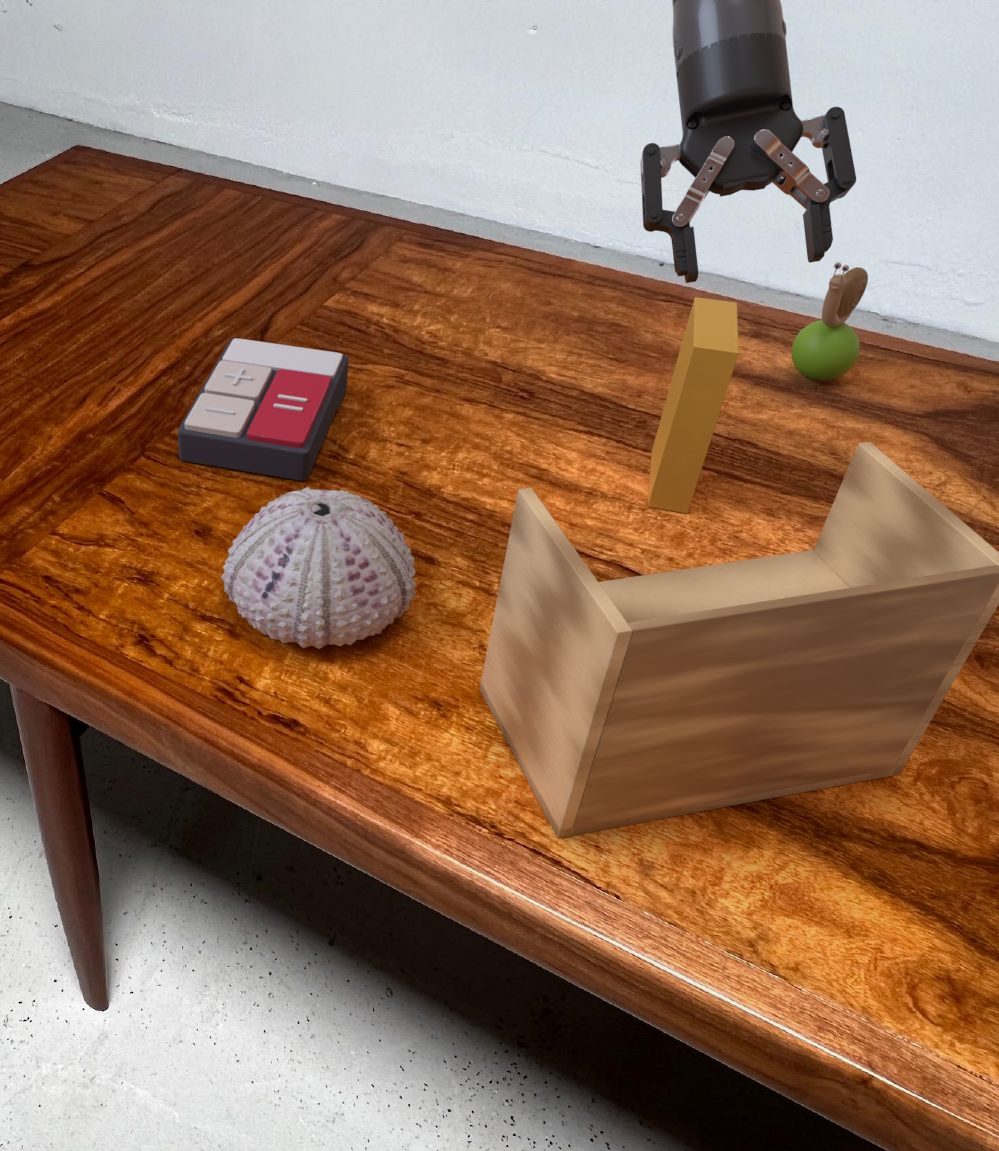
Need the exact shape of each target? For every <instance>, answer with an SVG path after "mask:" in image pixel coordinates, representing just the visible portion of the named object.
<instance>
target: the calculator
mask: <svg viewBox="0 0 999 1151" xmlns="http://www.w3.org/2000/svg"><path fill="white" fill-rule="evenodd" d="M348 374H349V356H348V355H347V354H343V353H341V352H336V351H330V350H329V351H328V350H323V349H322V350H321V349H314V348H308V347H300V346H294V345H288V344H281V343H274V342H265V341H259V340H251V339H244V338H239V337H238V338H231V339H230V340H229V341H227V344H226V346H225V348H224V349H223V351H222V352H221V354H220V356H219V358H218V360H217V361H216V363H215V365H214V367H213V368H212V370H211V371H210V373H209V375H208V377H207V378H206V380H205V382H204V384H203V386H202V387H201V389H200V390H199V392H198V394H197V395H196V398H195V399H194V401H193V403H192V404H191V406H190V408H189V409H188V411H187V413H186V415H185V417H184V418H183V420H182V422H181V424H179V427H178V429H177V441H178V442H177V444H178V457H179V459H180V460H181V461H183V462H187V463H193V464H199V465H206V466H211V467H217V468H222V469H228V470H234V471H240V472H246V473H251V474H258V475H262V476H263V475H264V476H270V477H275V478H281V479H288V480H293V481H298V482H305V481H307V480H308V479H309V478H310V477H309V476H310V474H311V472H312V470H313V467H314V465H315V462H316V460H317V459H318V455H319V452H320V450H321V448H322V446H323V443H324V441H325V438H326V436H327V434H328V431H329V429H330V426H331V424H332V421H333V419H334V417H335V414H336V412H338V411H339V409H340V407H341V405H342V402H343V400H344V398H345V395H346V393H347V390H348V389H347V388H348Z"/></svg>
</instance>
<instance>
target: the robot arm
mask: <svg viewBox="0 0 999 1151" xmlns="http://www.w3.org/2000/svg"><path fill="white" fill-rule="evenodd" d="M671 5H672V46H673V56H674V57H673V58H674V66H675V74H676V75H675V76H676V83H677V93H678V102H679V112H680V113H679V114H680V120H681V122H680V123H681V131H682V137H681V141H680V143H677V144H671V145H664V146H659V144H657V143H654V142H650V143H647V144H646V145H645V146H644V147H643V150H642V153H641V157H640V182H641V183H640V184H641V205H642V208H641V210H642V227H643V230H644V231H646V232H649V233H653V232H655V231H656V232H662V233H665V234H667V235H668V236H669V237H670V239H671V249H672V257H673V267H674V271H675V273H676V276H677V277H684V281H685V284H689V283H695V282H697V281H698V278H699V265H698V256H697V247H696V237H695V228H694V227H695V226H691V221H692V219H693V218H694V216H695V215H696V213H697V212H698V210H699V209H700V207H701V205H702V204H703V202H704V201H705V199H706V197H707V196H708V195H709V193H712V194H716V195H719V197H720V198H721V197H725V196H730V195H734V194H736V193H738V192H740V191H751V192H752V191H754V192H755V191H759V190H765V189H766V188H767V186H769V185H771V184H773V185H774V186H776V188H778V189H779V190H780V191H781V192H782V193H783V194H785V195H788V196H790V197H791V198H793V199H794V200H795V202H797V203H798V204H799V205H800V206H801V207H803V208H804V209H805V211H804V212H803V214H802V219H803V220H802V221H803V228H804V229H803V231H804V238H805V247H806V256H807V262H808V264H809V263H817V262H821V261H822V259H824V257H825V254H826V253H827V252H828V250H830V248H831V247H832V244H833V241H834V235H833V226H832V218H831V207H830V205H831V203H832V202H834V201H837V200H838V199H843V198H844V197H845V196H846V195H847V194H848V193H849V192H850V191H851V189H852V188H853V187H854V186H855V184H856V182H857V174H856V169H855V163H854V158H853V152H852V147H851V142H850V137H849V136H850V134H849V130H848V124H847V119H846V114H845V111H844V109H843V108H842V107H840V106H833V107H831V108H829V109H828V110H827V111H826V113H825V114H822V115H818V116H814V117H810V118H806V119H802V120H801V119H800V117H799V116H798V115H797V114H796V111H795V109H794V102H793V94H792V85H791V75H790V68H789V67H790V65H789V59H788V58H789V56H788V49H787V39H786V37H787V32H788V31H787V24H786V22H785V20H784V14H783V12H784V11H783V6H782V2H781V0H671ZM801 138H807V139H808V140H809V141H810V143H811V146H812V147H814V148H816V149H821V150H822V151H821V152H822V156H823V163H824V167H825V168H824V170H825V174H826V179H827V182H825V183H823V182H822V181H821V180H819V178H817V177H816V176H815V175H814V174H813V173H812V172H811V170H810V167H808V165H807V164H806V163H805V162H803V161H802V160H801V159H800V158H799V157H798V156H797V155H796V154H795V153H794V150H795V148H796V147H797V145H798V143H799V142H800V140H801ZM677 161H678V162H679V163H680V165H681V166H682V167H683V168H685V169H686V170H687V172H689V173H690V175H692V176H693V177H694V180H693V181H692V183H691V185H689V188H688V189H687V191H686V194H685V195H684V196H683V198H682V200H681V201H680V203H679V205H678V206H677V208H676V209H675V210H667V209H663V187H662V179H663V178H665V177H667V176H668V175H669V173H670V171H671V167H672V165H673V163H675V162H677Z"/></svg>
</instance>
